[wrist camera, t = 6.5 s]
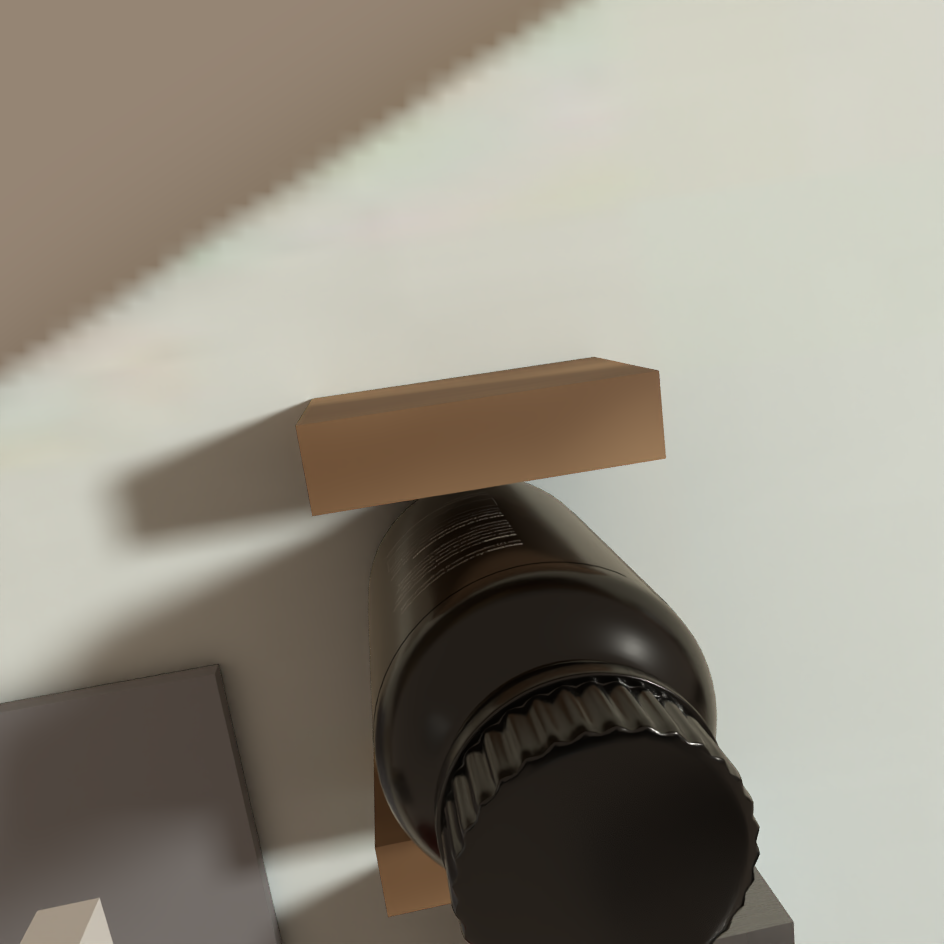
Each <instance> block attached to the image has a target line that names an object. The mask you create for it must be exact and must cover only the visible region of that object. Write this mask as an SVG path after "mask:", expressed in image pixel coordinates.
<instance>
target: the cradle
mask: <svg viewBox="0 0 944 944" xmlns="http://www.w3.org/2000/svg"><path fill="white" fill-rule="evenodd" d="M296 431H297V437H298V442H299V447H300V453H301V458H302V463H303V469H304V474H305V479H306V484H307V490H308V495H309V500H310V506H311V511H312V516H316V515H322V514H328V513H334V512H341V511H347V510H353V509H359V508H365V507H371V506H377V505H383V504H390V503H396V502H402V501H408V500H414V499H420V498H426V497H432V496H439V495H445V494H451V493H457V492H463V491H469V490H475V489H481V488H487V487H494V486H500V485H506V484H512V483H518V482H524V481H530V480H536V479H543V478H549V477H555V476H561V475H567V474H573V473H579V472H585V471H592V470H598V469H604V468H610V467H616V466H622V465H628V464H634V463H640V462H647V461H653V460H659V459H665V458H666V454H665V441H664V429H663V416H662V403H661V391H660V378H659V371H658V370H653V369H649V368H644V367H639V366H634V365H630V364H625V363H620V362H616V361H611V360H606V359H602V358H597V357H591V358H584V359H577V360H571V361H564V362H557V363H550V364H544V365H537V366H530V367H523V368H517V369H510V370H503V371H496V372H490V373H483V374H476V375H469V376H463V377H456V378H449V379H442V380H436V381H429V382H422V383H415V384H409V385H402V386H395V387H388V388H382V389H375V390H368V391H361V392H355V393H348V394H341V395H334V396H328V397H321V398H314V399H312V400H311V402H310V403H309V405H308V407H307V408H306V410H305V411H304V413H303V414H302V416H301V418H300V419H299V421H298V422H297V424H296ZM374 808H375V851H376V856H377V861H378V867H379V872H380V877H381V882H382V888H383V893H384V898H385V904H386V909H387V914H388V917H391V916H395V915H400V914H404V913H409V912H414V911H418V910H423V909H427V908H432V907H437V906H441V905H446V904H451V899H450V893H449V887H448V880H447V874H446V870H445V869H444V868H443V867H441V866H440V865H438V864H437V863H435V862H434V861H433V860H432V859H431V858H429V857H428V856H427V855H426V854H425V853H424V852H422V851H421V850H420V849H419V848H418V847H417V846H416V844H415V843H414V842H413V841H412V840H411V839H410V838H409V837H408V835H407V834H406V833H405V832H404V830H403V829H402V828H401V826H400V825H399V823H398V822H397V820H396V818H395V817H394V815H393V813H392V811H391V809H390V807H389V805H388V803H387V801H386V798H385V796H384V793H383V790H382V787H381V784H380V781H379V776H378V772H377V767H376V761H375V754H374Z"/></svg>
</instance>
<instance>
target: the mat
mask: <svg viewBox="0 0 944 944" xmlns="http://www.w3.org/2000/svg"><path fill="white" fill-rule="evenodd" d="M96 898H100V901H101V904H102V908H103V911H104V914H105V918H106V921H107V925H108V928H109V931H110V935H111V938H112V941H113V944H282V941H281V936H280V932H279V928H278V923H277V919H276V914H275V910H274V906H273V901H272V897H271V892H270V888H269V884H268V879H267V875H266V870H265V866H264V862H263V857H262V853H261V848H260V844H259V840H258V835H257V831H256V826H255V822H254V818H253V813H252V809H251V804H250V800H249V796H248V791H247V787H246V782H245V778H244V774H243V769H242V765H241V761H240V756H239V752H238V747H237V743H236V739H235V734H234V730H233V725H232V721H231V717H230V712H229V708H228V703H227V699H226V695H225V690H224V686H223V681H222V677H221V673H220V668H219V664H217V665H212V666H206V667H201V668H195V669H190V670H184V671H178V672H173V673H167V674H162V675H156V676H151V677H145V678H140V679H134V680H129V681H123V682H117V683H112V684H106V685H101V686H95V687H90V688H84V689H79V690H73V691H68V692H62V693H56V694H51V695H45V696H40V697H34V698H29V699H23V700H18V701H12V702H7V703H1V704H0V944H20V942H21V941H22V939H23V937H24V935H25V933H26V931H27V929H28V927H29V925H30V924H31V922H32V920H33V918H34V916H35V914H36V912H37V911H39V910H43V909H48V908H53V907H58V906H62V905H67V904H72V903H77V902H81V901H86V900H91V899H96Z"/></svg>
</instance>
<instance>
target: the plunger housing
mask: <svg viewBox="0 0 944 944" xmlns="http://www.w3.org/2000/svg"><path fill="white" fill-rule="evenodd" d="M754 876H755V880H754V882H753V883H752V885H751V886H750V888H749V889H748V891H747V892H746V896H745V904H744V906H743V907H742V909H741V910H740V911H739V912H738V913H737V914H736V915H735V916H734V917H733V920H732V923H731V926H730V928H729V930H728V931H727V932H725V933H724V934H723V935H721V936H720V937H719V938H717V939H716V941H715V943H714V944H794V923H793V920H792V919H791V918H790V916H789V915H788V913H787V912H786V910H785V909H784V907H783V906H782V905H781V903H780V902H779V900H778V899H777V897H776V896H775V894H774V893H773V892H772V890H771V889H770V887H769V886H768V884H767V883H766V881H765V880H764V879H763V877H762V876H761V874H760V873H759V871H758V870H757V868H756V867H755V866H754Z"/></svg>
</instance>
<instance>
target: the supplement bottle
mask: <svg viewBox="0 0 944 944" xmlns="http://www.w3.org/2000/svg"><path fill="white" fill-rule="evenodd" d="M368 623H369V650H370V676H371V703H372V728H373V743H374V754H375V761H376V767H377V772H378V776H379V781H380V784H381V787H382V790H383V793H384V796H385V798H386V801H387V803H388V805H389V807H390V809H391V811H392V813H393V815H394V817H395V818H396V820H397V822H398V823H399V825H400V826H401V828H402V829H403V830H404V832H405V833H406V834H407V835H408V837H409V838H410V839H411V840H412V841H413V842H414V843H415V844H416V846H417V847H418V848H419V849H420V850H421V851H422V852H424V853H425V854H426V855H427V856H428V857H429V858H431V859H432V860H433V861H434V862H435V863H437V864H438V865H440V866H441V867H443V868H444V869H445V870H446V874H447V880H448V887H449V893H450V899H451V904H452V908H453V910H454V913H455V914H456V916H457V917H458V919H459V922H460V928H461V932H462V934H463V936H464V939H465V940H467V941H468V942H469V943H470V944H714V943H715V941H716V939H717V938H719V937H720V936H721V935H723V934H724V933H725V932H727V931H728V930H729V928H730V926H731V923H732V920H733V917H734V916H735V915H736V914H737V913H738V912H739V911H740V910H741V909H742V907H743V906H744V904H745V896H746V892H747V891H748V889H749V888H750V886H751V885H752V883H753V882H754V880H755V876H754V866H755V864H756V862H757V859H758V857H759V855H760V852H759V848H758V846H757V843H756V840H757V837H758V833H759V825H758V823H757V821H756V819H755V817H754V816H753V800H752V798H751V796H750V794H749V793H748V791H747V790H746V789H745V787H744V786H743V783H742V779H741V776H740V774H739V772H738V771H737V769H736V768H735V767H734V765H733V764H732V763H731V762H730V760H729V759H728V758H727V757H726V755H725V754H724V753H723V752H722V750H721V749H720V748H719V746H718V744H717V742H716V727H717V710H716V698H715V692H714V687H713V681H712V678H711V674H710V671H709V668H708V665H707V662H706V660H705V658H704V655H703V653H702V651H701V649H700V647H699V645H698V643H697V641H696V640H695V638H694V636H693V635H692V633H691V632H690V631H689V629H688V628H687V627H686V625H685V624H684V623H683V621H682V620H681V619H680V618H679V617H678V616H677V614H676V613H675V612H674V611H673V610H672V609H671V608H670V606H669V605H668V604H667V603H666V602H665V601H664V600H663V599H662V598H661V597H660V596H659V595H658V594H657V593H656V592H655V591H654V590H653V589H652V588H651V587H650V586H649V585H648V584H647V583H646V582H645V581H644V580H643V579H641V578H640V577H639V576H638V575H637V574H636V573H635V572H634V571H633V570H632V569H631V568H630V567H629V566H628V565H627V564H626V563H625V562H624V561H623V560H622V559H621V558H620V557H619V556H618V555H617V554H616V553H615V552H614V551H613V550H612V549H611V548H610V547H609V546H608V545H607V544H606V543H605V542H603V541H602V540H601V539H600V538H599V537H598V536H597V535H596V534H595V533H594V532H593V531H592V530H591V529H590V528H589V527H588V526H587V525H586V524H585V523H584V522H583V521H582V520H581V519H580V518H579V517H578V516H577V515H576V514H574V513H573V512H572V511H571V510H570V509H569V508H568V507H566V506H565V505H564V504H563V503H562V502H561V501H559V500H558V499H556V498H555V497H554V496H552V495H551V494H549V493H547V492H545V491H543V490H542V489H540V488H538V487H535V486H533V485H531V484H528V483H525V482H518V483H512V484H506V485H500V486H494V487H487V488H481V489H475V490H469V491H463V492H457V493H451V494H445V495H439V496H432V497H426V498H420V499H419V500H417V501H416V502H415V503H414V504H412V505H411V506H410V507H409V508H408V509H407V510H405V511H404V512H403V513H402V514H401V515H400V516H399V518H398V519H397V520H396V521H395V522H394V523H393V525H392V526H391V527H390V529H389V530H388V532H387V533H386V535H385V537H384V538H383V540H382V542H381V544H380V546H379V548H378V550H377V553H376V556H375V558H374V561H373V565H372V569H371V573H370V579H369V587H368Z"/></svg>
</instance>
